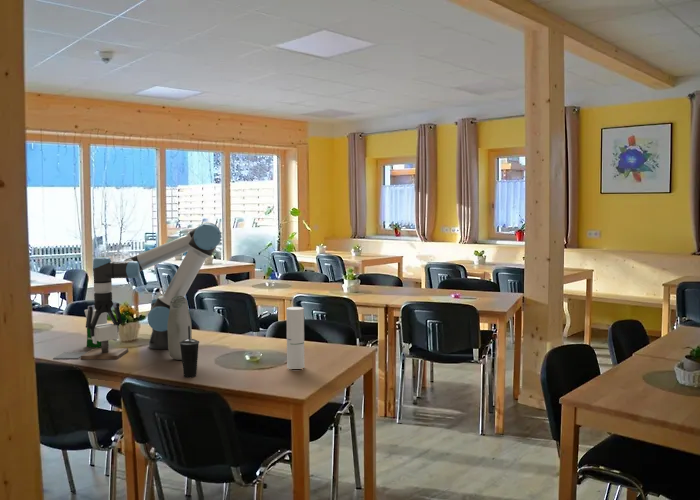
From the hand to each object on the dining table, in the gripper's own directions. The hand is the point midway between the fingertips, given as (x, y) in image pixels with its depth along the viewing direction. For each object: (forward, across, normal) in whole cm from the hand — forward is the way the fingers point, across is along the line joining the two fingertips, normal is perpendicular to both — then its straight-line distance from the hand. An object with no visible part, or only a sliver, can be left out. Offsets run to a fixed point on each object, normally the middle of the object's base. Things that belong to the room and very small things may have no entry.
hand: (104, 341), depth 286 cm
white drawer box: (-1, 0, 0) cm, 1 cm away
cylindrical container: (+7, -47, +78) cm, 91 cm away
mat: (+6, +12, -10) cm, 16 cm away
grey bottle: (+7, -20, +31) cm, 37 cm away
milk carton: (+6, -5, -21) cm, 23 cm away
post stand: (+6, 0, 0) cm, 6 cm away
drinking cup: (+7, -10, +58) cm, 59 cm away
